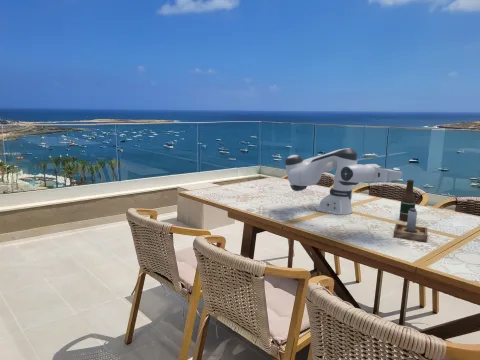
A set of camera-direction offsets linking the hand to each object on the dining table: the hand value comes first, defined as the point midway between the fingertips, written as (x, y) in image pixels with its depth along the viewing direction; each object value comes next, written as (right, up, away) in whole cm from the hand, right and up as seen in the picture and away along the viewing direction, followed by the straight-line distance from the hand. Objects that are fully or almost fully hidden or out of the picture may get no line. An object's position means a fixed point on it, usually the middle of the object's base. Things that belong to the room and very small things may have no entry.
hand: (394, 172), depth 183 cm
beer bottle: (+20, -28, +30) cm, 46 cm away
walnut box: (+9, -32, +2) cm, 34 cm away
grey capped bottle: (+9, -32, +2) cm, 33 cm away
